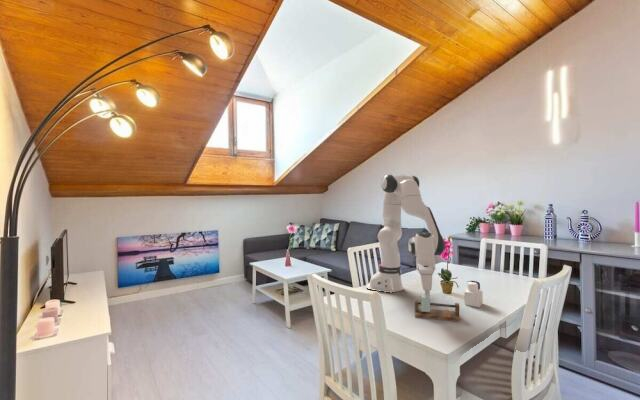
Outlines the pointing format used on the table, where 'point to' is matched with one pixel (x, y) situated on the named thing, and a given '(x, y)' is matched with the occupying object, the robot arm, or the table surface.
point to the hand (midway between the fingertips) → (427, 293)
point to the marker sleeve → (425, 303)
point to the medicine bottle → (473, 294)
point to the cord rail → (438, 312)
